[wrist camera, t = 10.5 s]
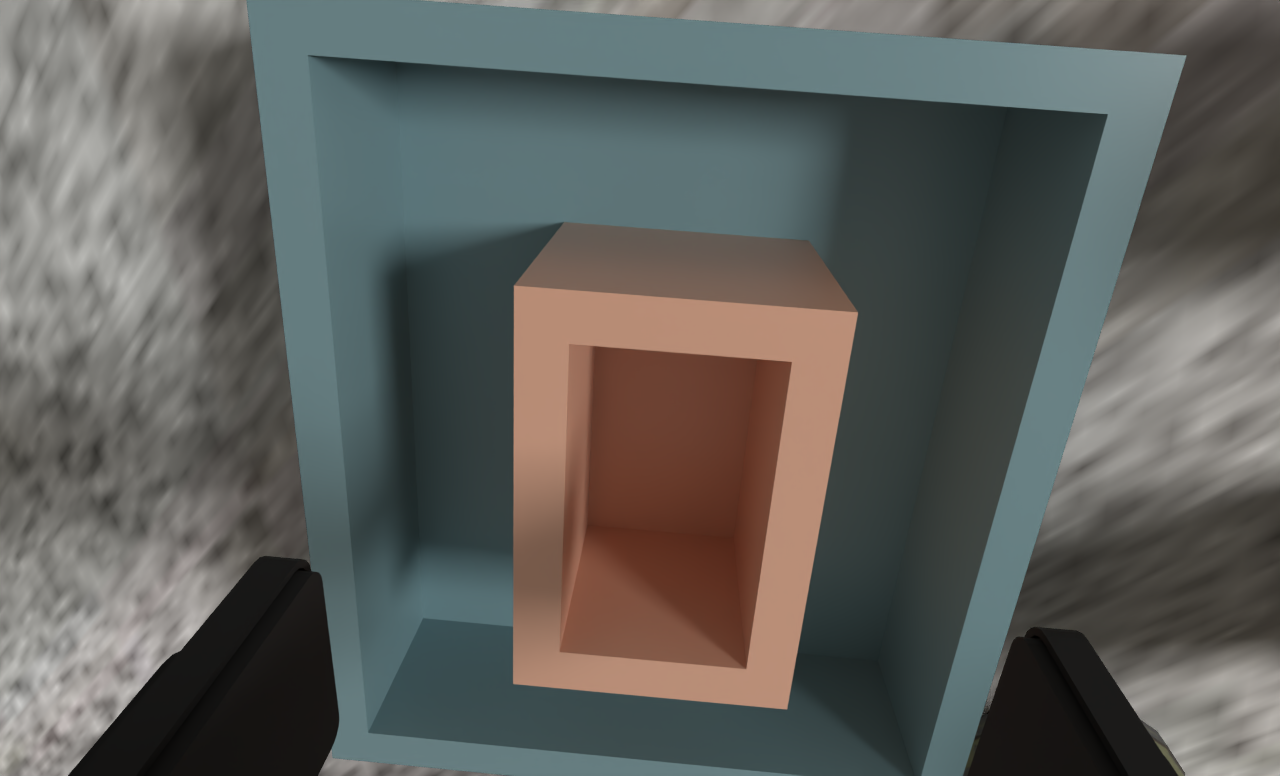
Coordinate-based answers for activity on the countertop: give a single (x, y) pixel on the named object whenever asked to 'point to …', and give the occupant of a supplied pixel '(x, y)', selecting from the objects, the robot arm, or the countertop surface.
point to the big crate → (696, 202)
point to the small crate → (671, 459)
